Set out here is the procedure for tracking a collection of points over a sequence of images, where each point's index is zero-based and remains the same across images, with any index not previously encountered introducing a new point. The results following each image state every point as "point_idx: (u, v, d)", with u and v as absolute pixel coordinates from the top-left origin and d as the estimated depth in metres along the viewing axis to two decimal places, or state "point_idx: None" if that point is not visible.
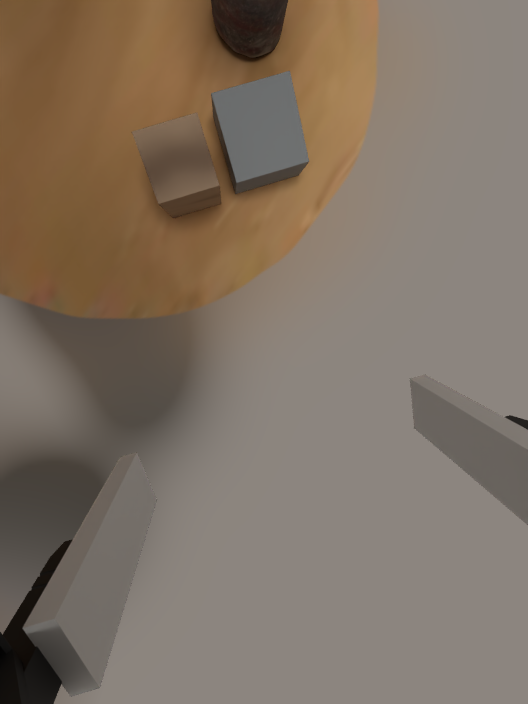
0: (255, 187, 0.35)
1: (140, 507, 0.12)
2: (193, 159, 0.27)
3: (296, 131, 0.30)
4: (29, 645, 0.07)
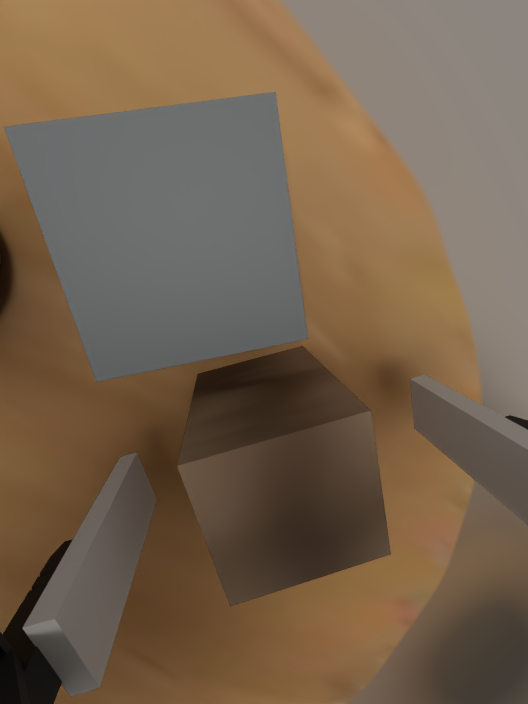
0: None
1: (140, 507, 0.12)
2: (297, 477, 0.09)
3: (185, 128, 0.09)
4: (29, 645, 0.07)
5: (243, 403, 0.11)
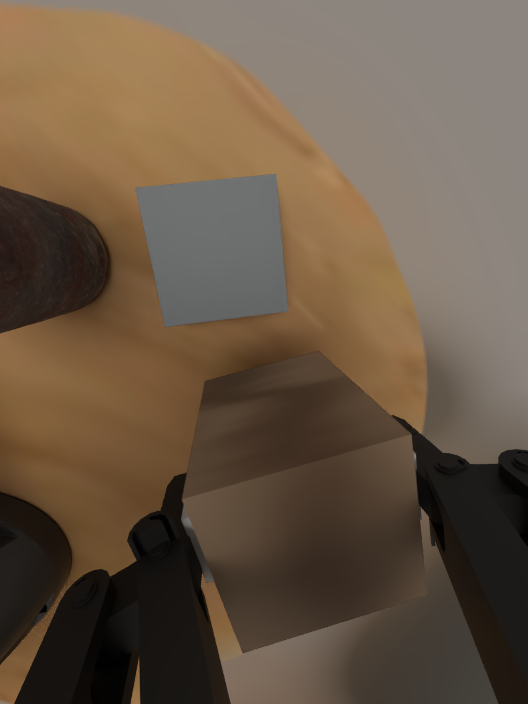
0: None
1: None
2: (323, 511, 0.08)
3: (226, 191, 0.17)
4: (182, 536, 0.09)
5: (257, 418, 0.10)
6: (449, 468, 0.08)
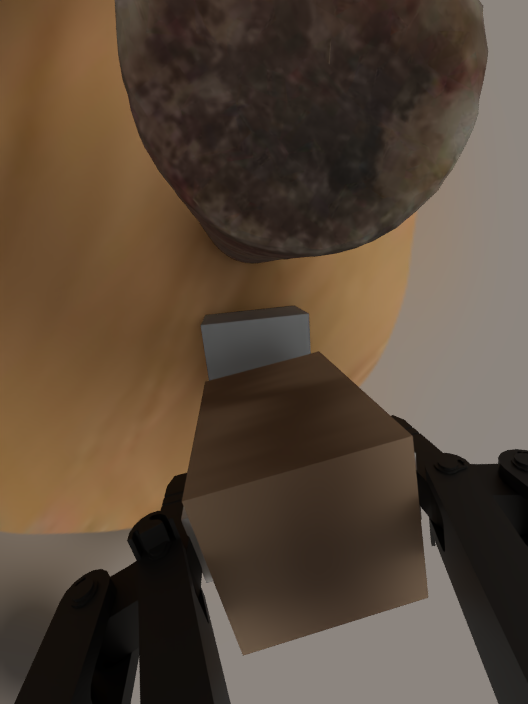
0: None
1: None
2: (323, 513, 0.08)
3: None
4: (182, 536, 0.09)
5: (258, 420, 0.10)
6: (449, 468, 0.08)
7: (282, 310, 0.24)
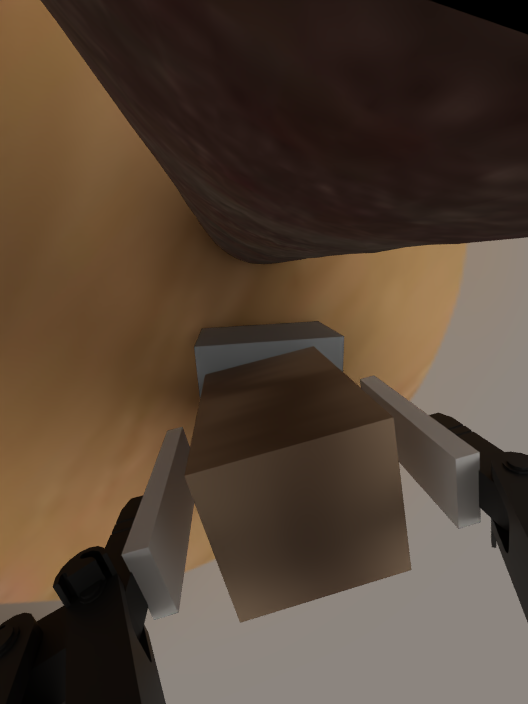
0: None
1: None
2: (313, 488, 0.09)
3: None
4: (124, 571, 0.08)
5: (254, 407, 0.11)
6: (520, 468, 0.08)
7: (304, 328, 0.18)
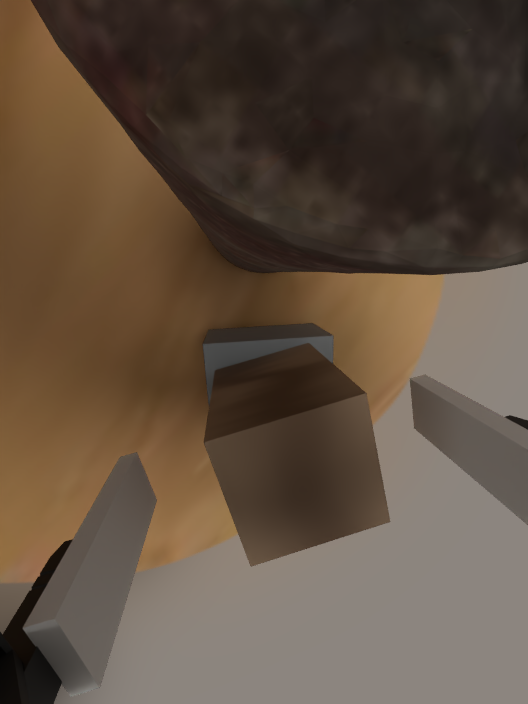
0: None
1: (140, 507, 0.12)
2: (305, 452, 0.11)
3: None
4: (29, 645, 0.07)
5: (257, 392, 0.13)
6: None
7: (299, 329, 0.21)
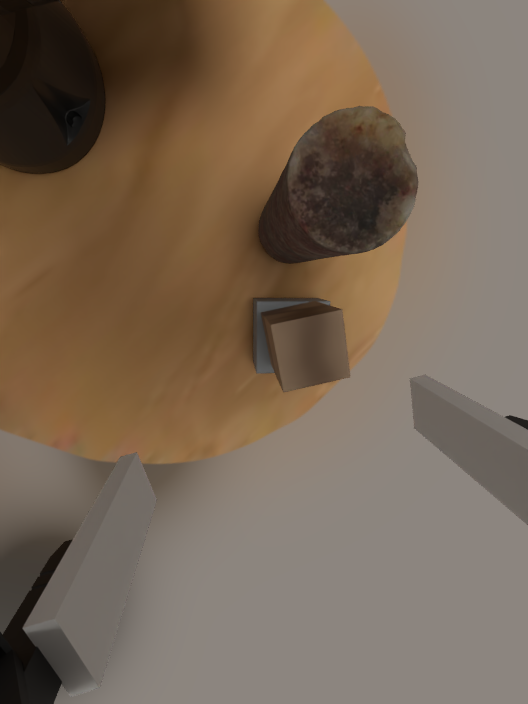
0: None
1: (140, 507, 0.12)
2: (313, 335, 0.24)
3: None
4: (29, 645, 0.07)
5: (290, 314, 0.27)
6: None
7: (310, 299, 0.34)
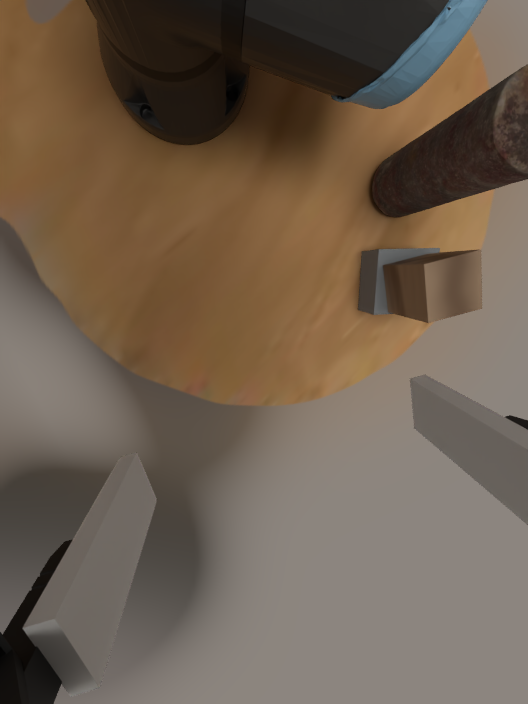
0: None
1: (140, 507, 0.12)
2: (456, 272, 0.29)
3: None
4: (29, 645, 0.07)
5: (426, 259, 0.32)
6: None
7: None
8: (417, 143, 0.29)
